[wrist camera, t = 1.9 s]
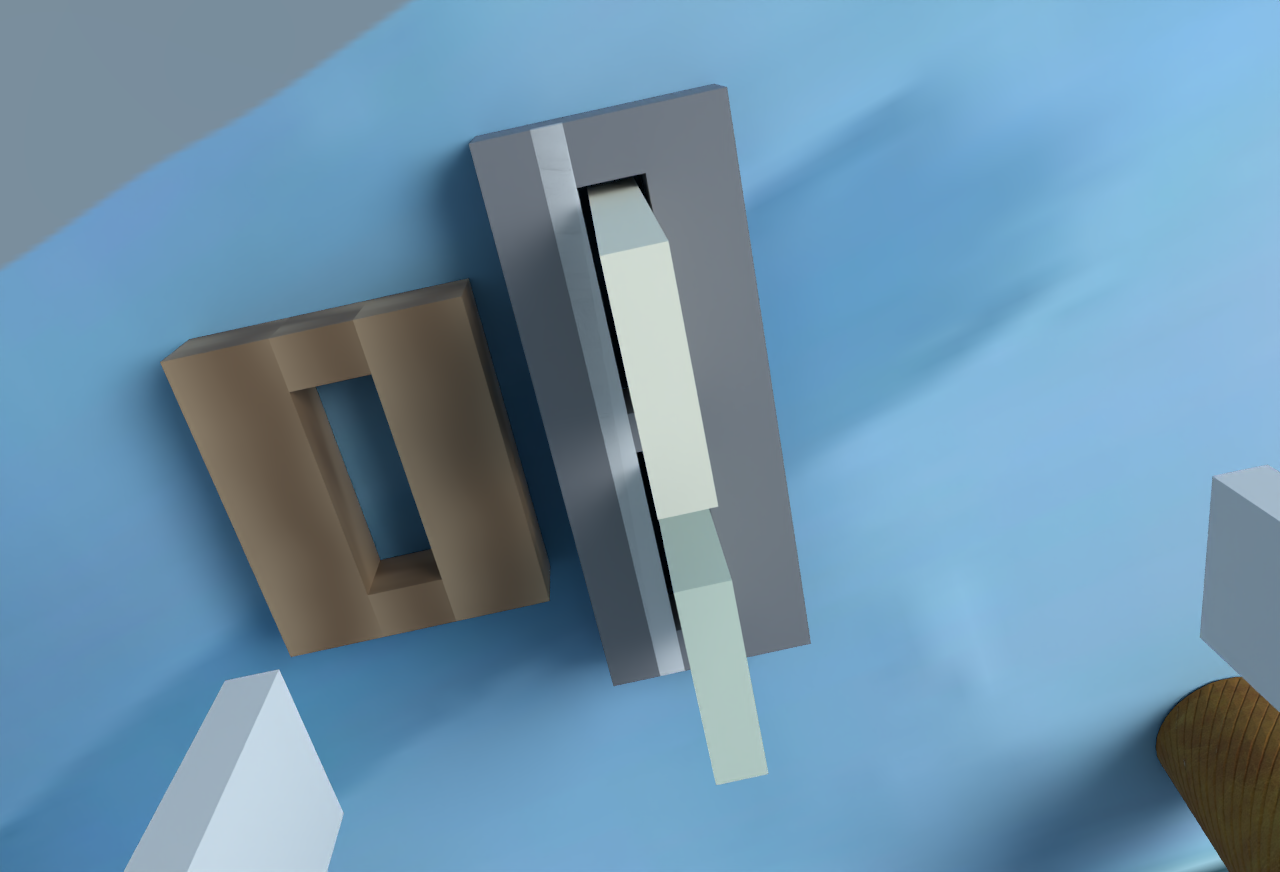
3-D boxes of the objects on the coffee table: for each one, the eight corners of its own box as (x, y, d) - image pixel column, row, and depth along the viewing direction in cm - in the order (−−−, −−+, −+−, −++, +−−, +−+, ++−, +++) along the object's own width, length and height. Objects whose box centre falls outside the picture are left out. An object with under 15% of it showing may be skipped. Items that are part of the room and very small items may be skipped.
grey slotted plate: (610, 647, 38) (613, 686, 36) (476, 136, 30) (468, 143, 27) (795, 607, 38) (810, 643, 36) (713, 83, 30) (726, 87, 27)
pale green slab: (628, 377, 33) (657, 519, 23) (586, 187, 31) (599, 256, 21) (670, 368, 33) (718, 506, 23) (632, 177, 31) (668, 241, 20)
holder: (308, 618, 36) (290, 656, 34) (189, 339, 32) (160, 362, 29) (550, 566, 36) (549, 601, 34) (468, 278, 31) (461, 296, 29)
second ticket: (674, 585, 37) (716, 785, 27) (640, 432, 34) (673, 592, 24) (712, 576, 37) (768, 773, 27) (681, 423, 34) (731, 580, 24)
